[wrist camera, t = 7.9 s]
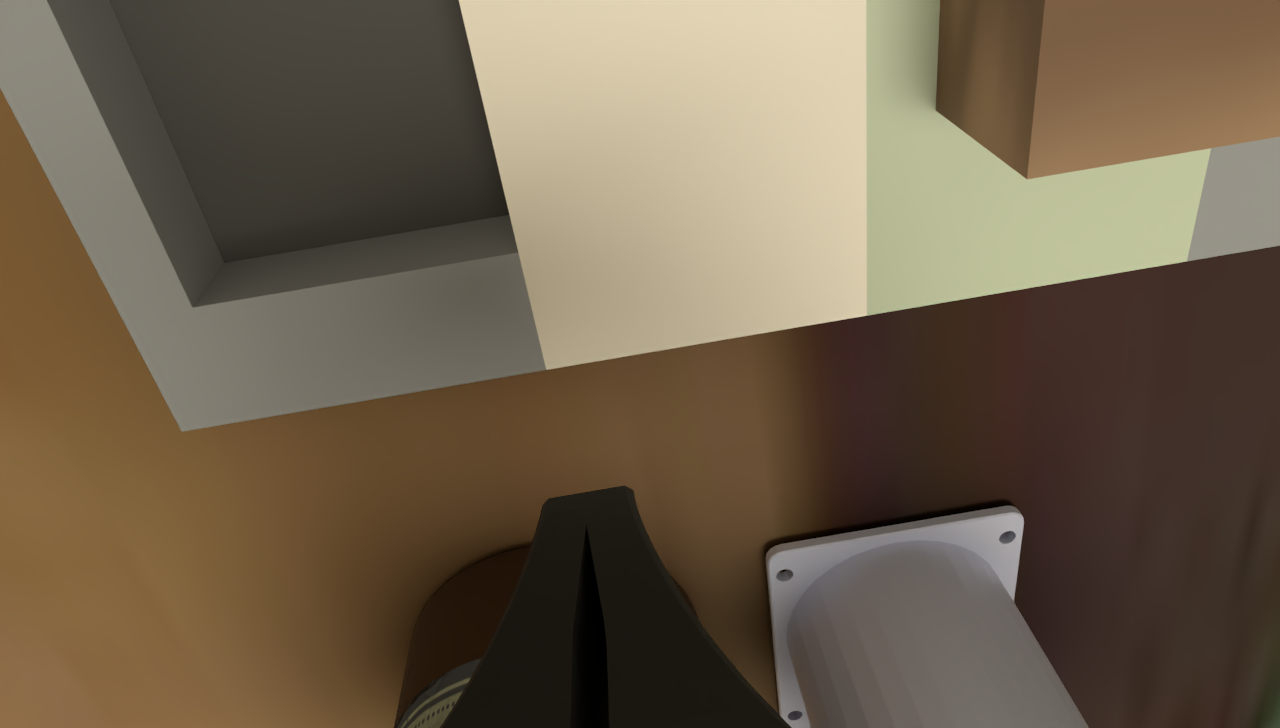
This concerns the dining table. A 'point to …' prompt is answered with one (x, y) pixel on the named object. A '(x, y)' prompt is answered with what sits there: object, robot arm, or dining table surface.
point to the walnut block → (1108, 78)
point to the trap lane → (545, 184)
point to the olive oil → (457, 637)
